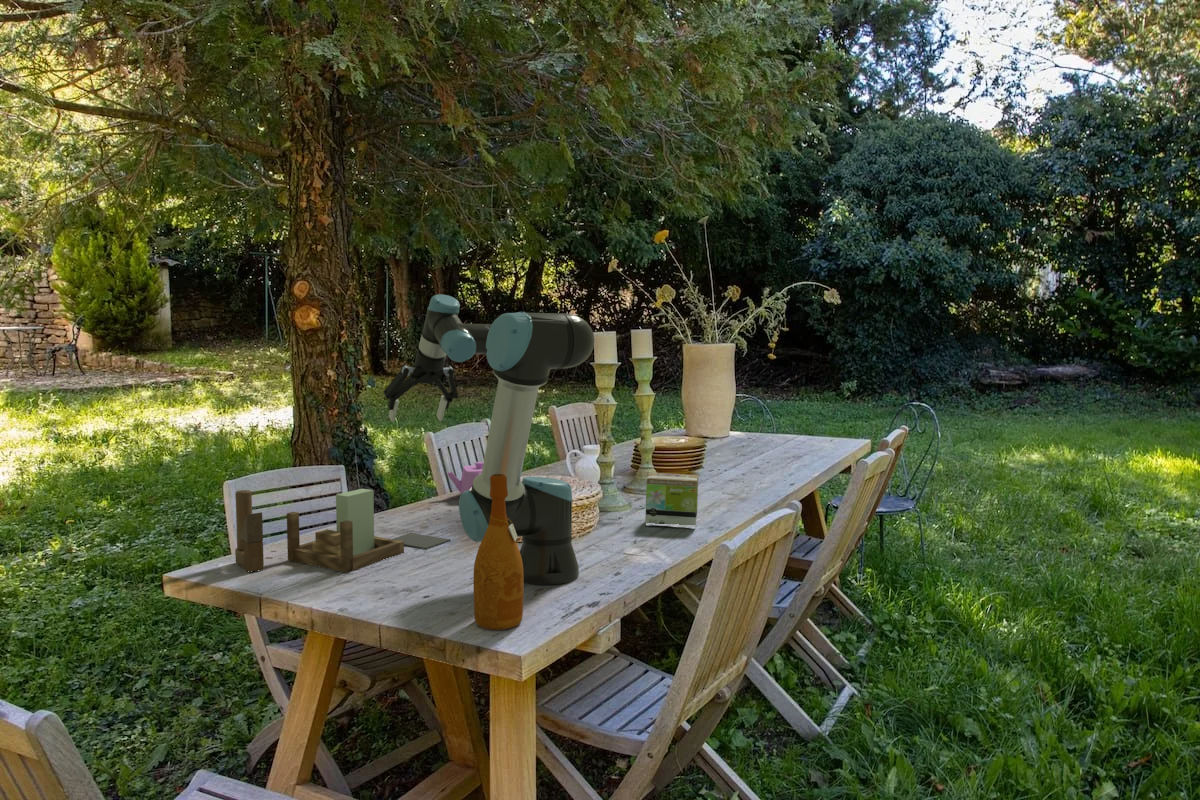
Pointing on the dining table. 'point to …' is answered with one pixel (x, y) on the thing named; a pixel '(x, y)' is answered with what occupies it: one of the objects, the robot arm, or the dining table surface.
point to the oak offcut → (327, 549)
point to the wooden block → (248, 533)
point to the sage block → (357, 517)
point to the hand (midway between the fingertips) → (415, 418)
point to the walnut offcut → (328, 537)
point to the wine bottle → (498, 567)
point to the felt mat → (420, 540)
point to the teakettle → (466, 476)
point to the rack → (346, 560)
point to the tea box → (671, 499)
